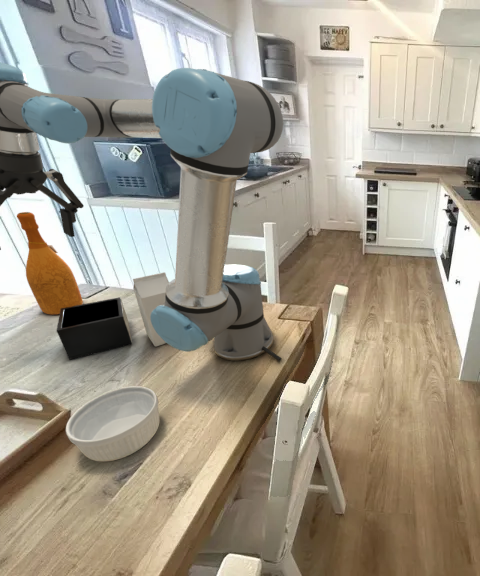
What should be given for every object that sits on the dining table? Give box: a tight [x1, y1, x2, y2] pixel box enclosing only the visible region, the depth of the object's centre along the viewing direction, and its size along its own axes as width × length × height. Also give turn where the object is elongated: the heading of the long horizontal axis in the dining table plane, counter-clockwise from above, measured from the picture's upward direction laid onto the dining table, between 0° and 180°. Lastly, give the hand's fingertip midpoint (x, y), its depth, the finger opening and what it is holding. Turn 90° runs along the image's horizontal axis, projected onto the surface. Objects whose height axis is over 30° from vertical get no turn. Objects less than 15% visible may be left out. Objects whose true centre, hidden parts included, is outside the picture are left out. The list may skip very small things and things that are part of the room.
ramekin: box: [65, 385, 160, 462], centre depth 61 cm, size 13×13×7 cm
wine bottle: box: [16, 211, 84, 315], centre depth 94 cm, size 10×10×30 cm
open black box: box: [56, 296, 133, 361], centre depth 86 cm, size 13×13×9 cm
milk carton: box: [132, 271, 170, 347], centre depth 87 cm, size 7×7×19 cm
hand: (34, 240), depth 77 cm, fingers open, 13 cm apart
